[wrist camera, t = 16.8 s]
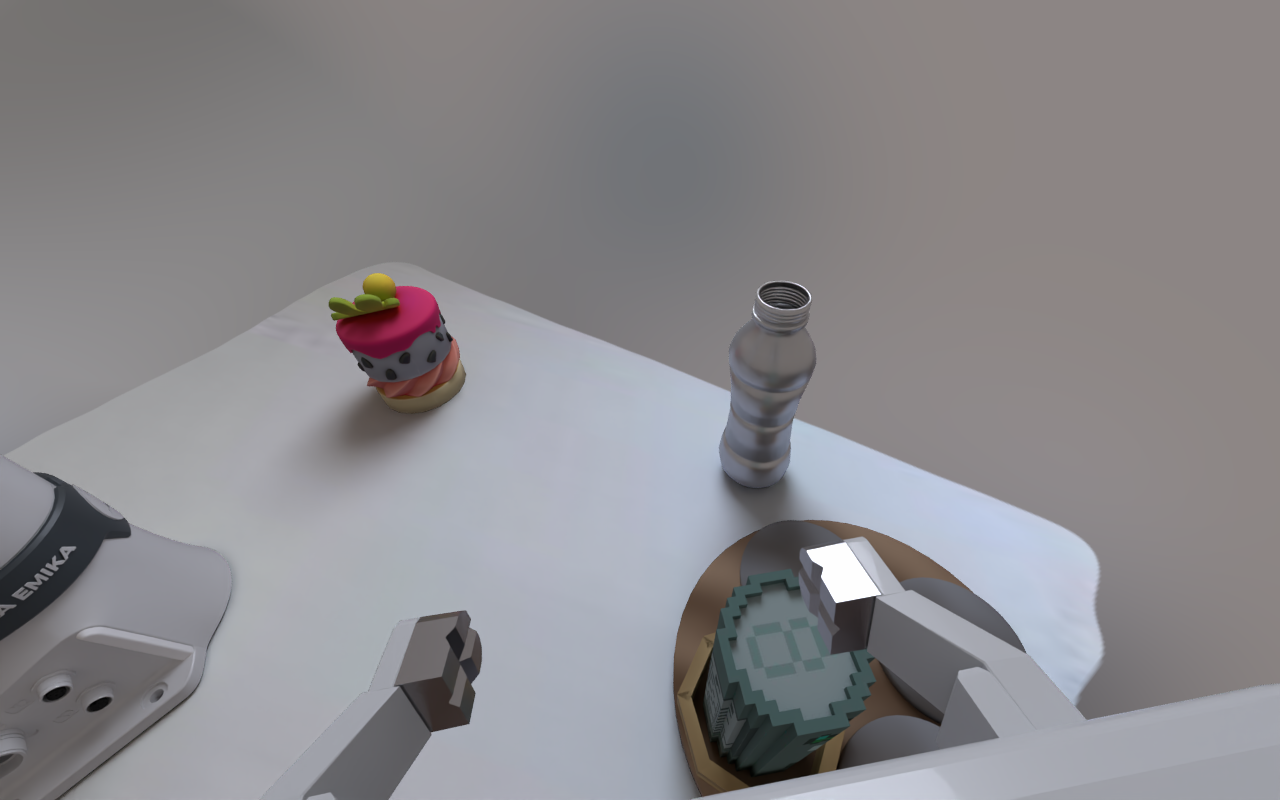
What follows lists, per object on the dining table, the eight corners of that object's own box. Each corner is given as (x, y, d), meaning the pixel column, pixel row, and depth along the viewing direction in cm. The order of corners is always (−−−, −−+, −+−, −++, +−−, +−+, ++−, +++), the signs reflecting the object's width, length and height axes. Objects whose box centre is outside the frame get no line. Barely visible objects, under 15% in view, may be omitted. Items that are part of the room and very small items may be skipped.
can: (816, 765, 28) (902, 716, 17) (718, 783, 28) (744, 745, 17) (781, 656, 32) (833, 561, 22) (695, 671, 32) (705, 582, 21)
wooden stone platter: (1052, 1105, 21) (1121, 1153, 18) (609, 768, 30) (600, 759, 27) (1049, 619, 35) (1088, 596, 32) (745, 490, 44) (751, 462, 41)
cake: (383, 368, 60) (318, 262, 49) (466, 348, 62) (421, 242, 51) (377, 425, 53) (300, 318, 42) (471, 401, 55) (420, 292, 44)
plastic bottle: (750, 509, 43) (787, 338, 28) (703, 461, 47) (714, 290, 32) (800, 474, 45) (858, 300, 30) (750, 431, 49) (781, 259, 34)
